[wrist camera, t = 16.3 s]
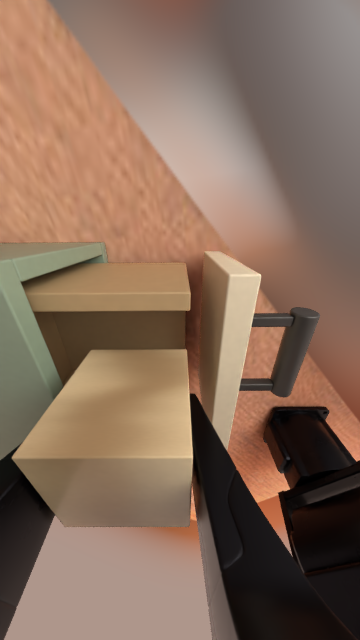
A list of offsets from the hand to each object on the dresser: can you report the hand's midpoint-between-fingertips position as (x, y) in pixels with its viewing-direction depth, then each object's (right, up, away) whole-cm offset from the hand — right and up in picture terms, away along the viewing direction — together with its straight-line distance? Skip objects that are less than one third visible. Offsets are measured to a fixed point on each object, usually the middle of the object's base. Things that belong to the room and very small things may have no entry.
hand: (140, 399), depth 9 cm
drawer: (0, +4, +7) cm, 8 cm away
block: (0, 0, +1) cm, 1 cm away
